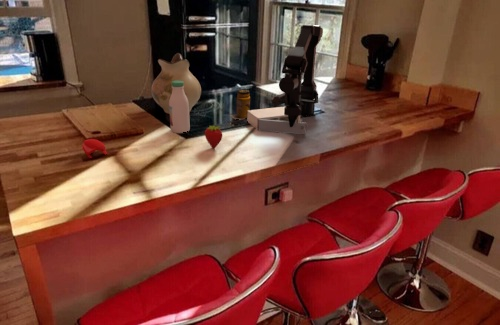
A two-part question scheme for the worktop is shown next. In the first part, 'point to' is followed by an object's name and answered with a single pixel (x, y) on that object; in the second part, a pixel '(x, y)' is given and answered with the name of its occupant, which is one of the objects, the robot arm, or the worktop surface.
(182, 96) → the milk bottle
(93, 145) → the cap
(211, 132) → the strawberry
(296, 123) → the door
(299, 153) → the worktop surface
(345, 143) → the worktop surface
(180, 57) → the pitcher
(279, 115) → the cabinet
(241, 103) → the condiment
